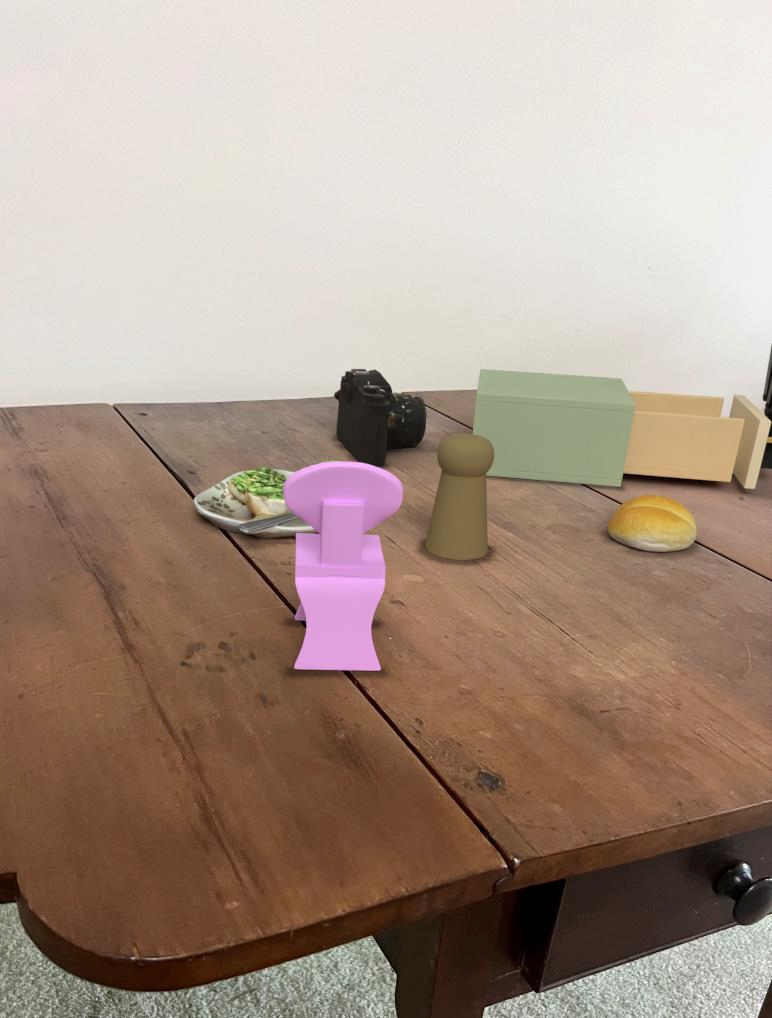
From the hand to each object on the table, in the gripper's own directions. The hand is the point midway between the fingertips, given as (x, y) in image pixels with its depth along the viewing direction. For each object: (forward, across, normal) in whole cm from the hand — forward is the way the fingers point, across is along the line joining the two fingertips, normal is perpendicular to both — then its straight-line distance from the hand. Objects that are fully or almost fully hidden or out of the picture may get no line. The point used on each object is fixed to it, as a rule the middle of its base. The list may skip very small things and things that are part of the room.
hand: (766, 466), depth 111 cm
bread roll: (+2, +24, -16) cm, 29 cm away
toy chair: (+2, +54, -43) cm, 69 cm away
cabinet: (+2, 0, -26) cm, 26 cm away
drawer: (+1, 0, -8) cm, 8 cm away
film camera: (+2, -1, -47) cm, 47 cm away
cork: (+2, +32, -35) cm, 48 cm away
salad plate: (+2, +26, -53) cm, 59 cm away
